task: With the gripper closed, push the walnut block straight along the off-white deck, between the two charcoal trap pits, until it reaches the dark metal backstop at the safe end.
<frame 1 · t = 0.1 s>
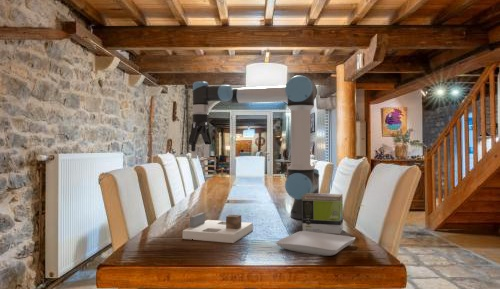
hand: (200, 158, 197), 28 cm above the table, fingers open, 13 cm apart
tea box: (322, 231, 164), on the table
walnut block: (233, 227, 156), point 3 cm above the table, touching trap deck
salad plate: (316, 249, 138), on the table
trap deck: (219, 234, 158), on the table
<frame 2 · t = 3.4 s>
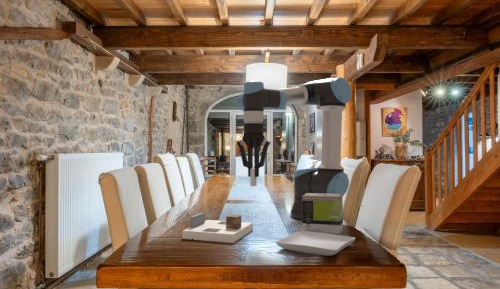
hand: (253, 185, 153), 19 cm above the table, fingers closed
nothing on the table moved.
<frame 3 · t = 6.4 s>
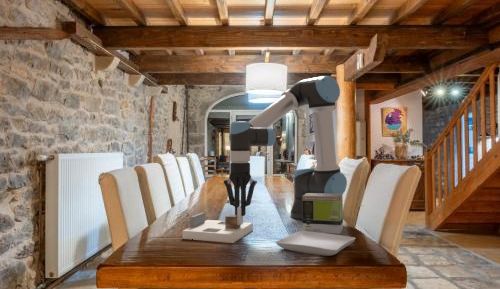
hand: (240, 224, 155), 4 cm above the table, fingers closed
walnut block: (233, 227, 156), point 3 cm above the table, touching gripper
everything else where it was.
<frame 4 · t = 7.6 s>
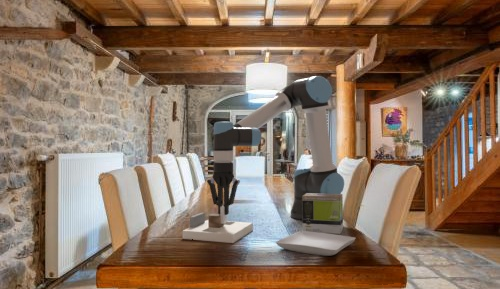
hand: (223, 223, 157), 5 cm above the table, fingers closed
walnut block: (216, 226, 158), point 3 cm above the table, touching gripper
everything else where it was.
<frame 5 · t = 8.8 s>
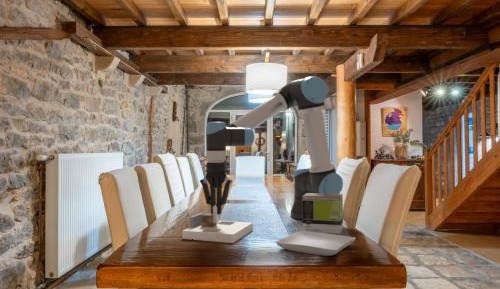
hand: (216, 222, 158), 4 cm above the table, fingers closed
walnut block: (209, 225, 159), point 3 cm above the table, touching gripper, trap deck
everything else where it was.
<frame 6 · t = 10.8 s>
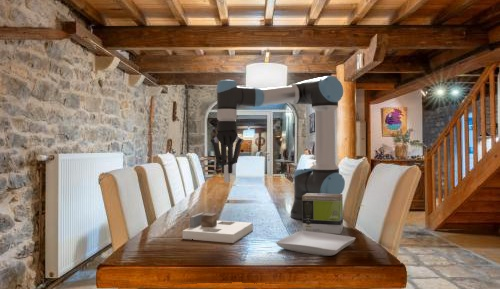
hand: (227, 181, 157), 20 cm above the table, fingers closed
walnut block: (209, 225, 159), point 3 cm above the table, touching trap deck
everything else where it was.
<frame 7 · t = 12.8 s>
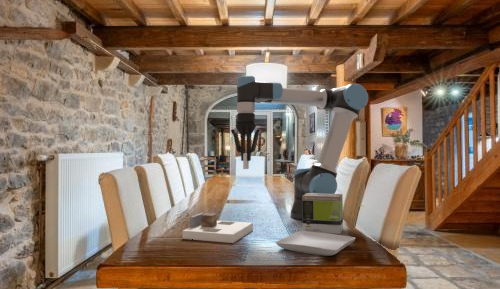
hand: (246, 168, 172), 24 cm above the table, fingers closed
nothing on the table moved.
at the end: walnut block 2.3 cm from the target spot on the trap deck, point 3.0 cm above the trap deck's base; walnut block tilted 0°; the gripper is holding nothing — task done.
